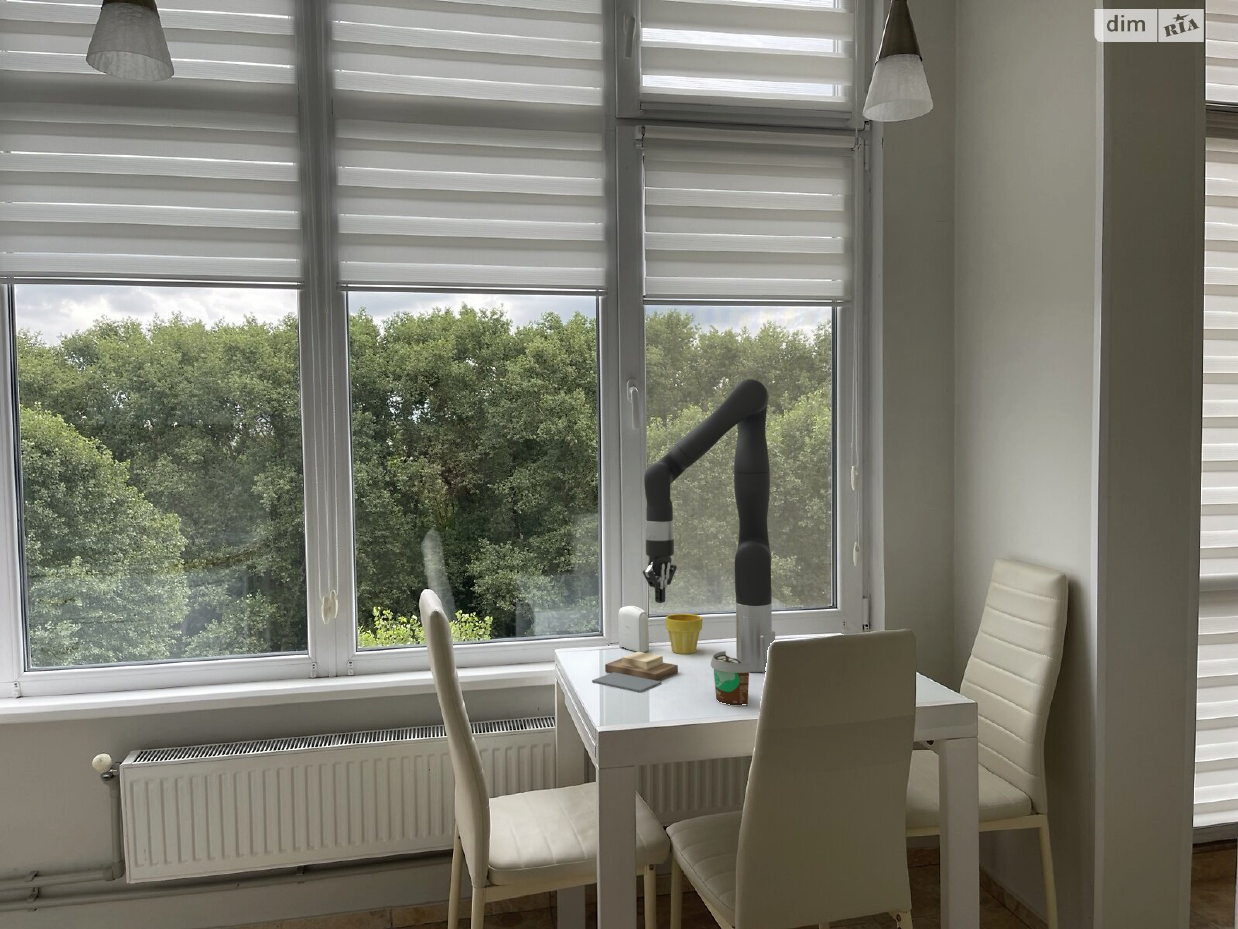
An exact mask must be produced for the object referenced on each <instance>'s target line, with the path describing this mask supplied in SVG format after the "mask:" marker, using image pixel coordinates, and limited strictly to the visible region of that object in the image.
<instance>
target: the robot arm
mask: <svg viewBox="0 0 1238 929" xmlns="http://www.w3.org/2000/svg"><path fill="white" fill-rule="evenodd" d="M768 403H769V392H768V390H767V387H766V386H765V385H764V384H763V383H762V382H760V381H759V380H757V379H755V378H746V379H743V380H740V381H739V382H738V383H736V385H735V386H734V388H733V389H732V391H730V394H728V396H727V397H726V398H725V399H724V401H722V403H721V404H720V405H719V406H718V407H717V408H716V409H715V410H714V411H713V412H712V413H711V414H710V415H709V416H708V417H706V418H705V419H704V420H703V421H701V422H700V423H699V424H697V425H696V426H695V427H694V428H693V429H692V430H690V431H689V432H688V433H686V435H684V436H683V437H682V438H681V439H680V440H678V441H677V442H676V443H675V444H674V445H673V446H672V447H671V448H670V451H668V452H667V453H666V454H665V455H663V456H662V457H661V458H660V459H659V460H658V461H656V462H654V463H652V464H650V465H648V466H647V468H646V469H645V472H644V480H643V482H644V491H645V492H644V493H645V500H646V507H645V508H646V510H645V512H646V513H645V514H646V516H645V517H646V522H645V554H646V556H648V558H649V559H648V563H647V565H648V567H647V569H643V571H642V575H643V576H644V578H645V580H646V582H647V584H648V586H649V587H650V588H653V589H654V600H655V603H658V604H662V603H665V602H666V588H667V587H668V586H670V585H671V583H672V582H673V578H674V576H675V573H676V570H677V565H676V564H674V563H672V558H671V557H672V556H674V555H675V528H674V521H673V520H674V519H673V518H674V516H673V515H674V514H673V512H674V511H673V510H674V509H673V503H672V502H673V501H672V499H671V485H672V484H673V483H674V481H676V480H677V479H678V478H679V477H680V476H681V475H682V473H684V472H685V471H686V470H687V469H689V468H690V467H691V466H693V465H694V464H695V463H696V462H698V460H700V459H701V458H702V457H703V456H704V455H705V454H707V452H709V451H710V450H711V449H712V448H713V447H714V446H715V445H716V444H717V443H718V442H719V441H720V440H721V439H722V438H723V437H724V436H725V435H726V434H727V433H728V432H729V431H730V430H731V429H733V428H734V427H735V426H736V427H737V438H736V446H735V454H734V461H733V462H734V463H733V481H734V482H733V483H734V485H733V488H734V496H735V498H734V499H735V504H736V509H737V514H738V523H739V524H738V525H739V527H738V528H739V529H738V542H737V549H736V553H735V555H734V556H735V557H734V590H735V591H734V592H735V628H736V629H735V633H736V635H735V636H736V640H735V641H736V642H735V643H736V645H735V646H736V650H735V651H736V659H737V660H739V661H740V662H741V663H749V666H750V671H751V672H750V673H764V674H765V673H766V672H765V667H766V663H767V650H768V647H769V646H770V643H772V642H773V641H774V640H775V641H776V632H775V630H773V616H772V615H773V613H772V611H773V610H772V609H773V608H772V607H773V606H772V598H773V597H772V594H773V593H772V592H773V591H772V553H771V548H770V541H769V531H768V513H769V505H770V491H771V476H770V475H771V472H770V470H771V469H770V460H769V458H770V457H769V451H768V450H769V449H768V444H767V436H766V432H767V431H766V427H767V426H766V424H767V412H768Z"/></svg>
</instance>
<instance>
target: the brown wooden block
mask: <svg viewBox="0 0 1238 929" xmlns="http://www.w3.org/2000/svg"><path fill="white" fill-rule="evenodd" d="M604 668H605V669H604V670H605V671H604V672H605V673H607V674H610V673H613V672H616V673H621V674H626V675H631V676H636V677H641V678H646V679H651V680H656V681H661V680H664V679H666V678H669V677H671V676H673V675H676V674H678V673H679V665H678V664H674V663H669V662H664V661H663V664H661V665H658V666H656V667H653V668H650V669H648V670H645V669H640V668H635V667H630V666H625V665H622V658H619V659H616V660H614V661H610V662H608V663H606V664H605V665H604Z"/></svg>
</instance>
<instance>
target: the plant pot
mask: <svg viewBox="0 0 1238 929" xmlns="http://www.w3.org/2000/svg"><path fill="white" fill-rule="evenodd" d="M702 629H703V617H702V616H701V615H700V614H699V615H698V614H693V613H673V614H669V615H666V616H665V630H667V631H668V632H667V633H668V635H669V642H670V646H671V651H672V652H673V653H675V654H680V655H691V654H694V653H696V652H695V651H697V647H698V642H699V637H700V632H701V631H702Z"/></svg>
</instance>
